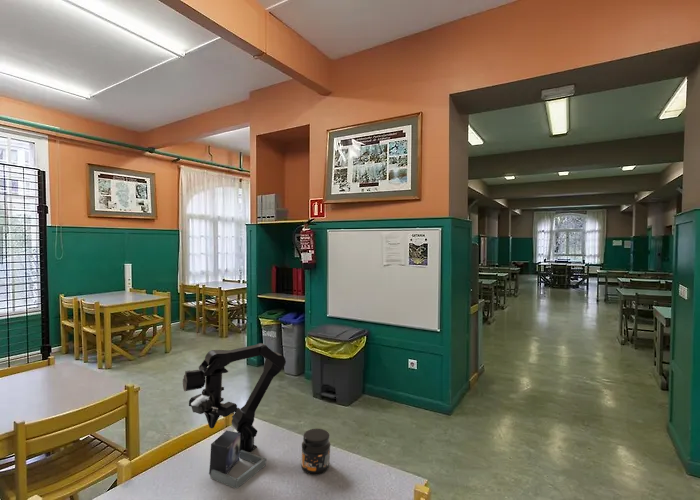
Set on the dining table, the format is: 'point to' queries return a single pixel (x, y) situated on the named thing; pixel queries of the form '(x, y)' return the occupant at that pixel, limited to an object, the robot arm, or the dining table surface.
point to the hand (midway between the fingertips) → (211, 427)
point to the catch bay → (245, 476)
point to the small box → (225, 452)
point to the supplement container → (315, 451)
